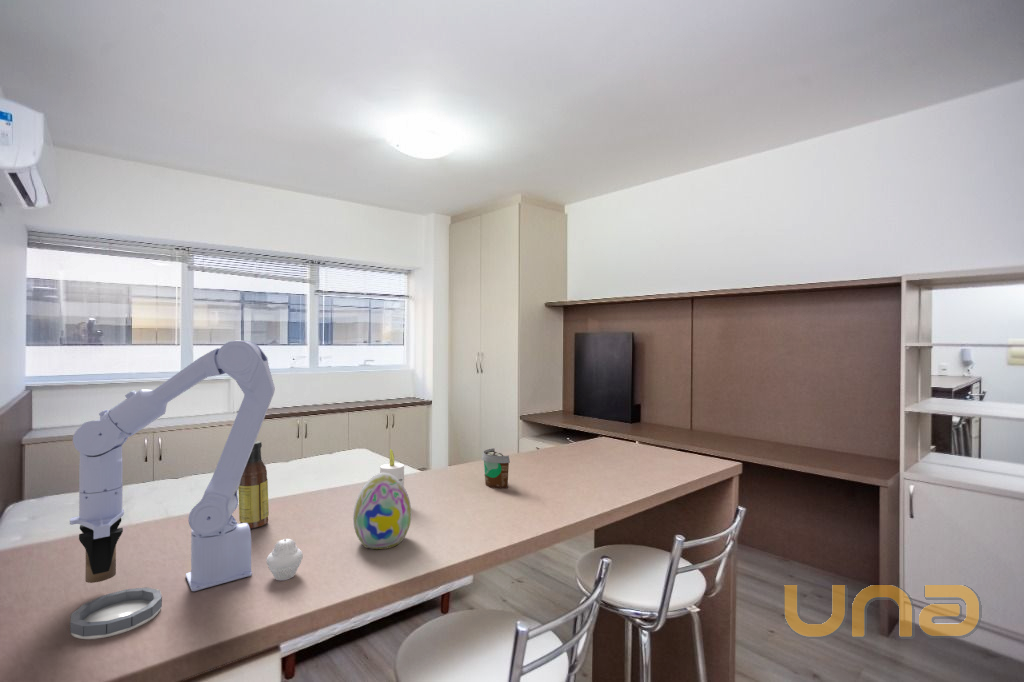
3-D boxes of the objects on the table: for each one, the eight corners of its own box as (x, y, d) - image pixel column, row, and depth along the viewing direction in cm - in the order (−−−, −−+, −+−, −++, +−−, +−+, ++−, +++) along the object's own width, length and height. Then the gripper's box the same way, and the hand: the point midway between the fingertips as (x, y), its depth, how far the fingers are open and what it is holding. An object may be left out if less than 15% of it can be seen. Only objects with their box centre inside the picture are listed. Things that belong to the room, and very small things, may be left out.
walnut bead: (115, 569, 86) (115, 535, 86) (116, 577, 83) (116, 542, 83) (85, 576, 84) (85, 541, 84) (85, 585, 81) (85, 548, 81)
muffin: (308, 568, 93) (308, 532, 93) (294, 584, 87) (295, 545, 87) (275, 569, 93) (275, 532, 93) (259, 585, 87) (260, 545, 87)
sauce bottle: (261, 518, 120) (262, 438, 120) (273, 524, 116) (273, 441, 116) (233, 526, 115) (233, 442, 115) (244, 532, 111) (245, 445, 111)
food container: (475, 481, 153) (475, 449, 153) (493, 479, 156) (493, 447, 156) (490, 492, 142) (490, 457, 142) (509, 489, 145) (509, 455, 145)
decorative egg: (351, 556, 99) (352, 483, 99) (354, 534, 110) (354, 468, 110) (413, 550, 102) (413, 478, 102) (409, 528, 114) (409, 464, 114)
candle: (390, 510, 126) (390, 452, 126) (374, 505, 130) (375, 449, 130) (409, 504, 131) (409, 448, 131) (393, 499, 135) (394, 445, 135)
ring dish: (157, 592, 84) (157, 581, 84) (164, 620, 76) (164, 607, 76) (71, 616, 77) (71, 603, 77) (69, 649, 68) (69, 634, 68)
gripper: (71, 483, 87) (71, 560, 87) (68, 504, 76) (67, 591, 76) (122, 476, 91) (121, 549, 91) (126, 494, 80) (125, 577, 80)
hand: (100, 567), depth 84 cm, fingers closed on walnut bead, 4 cm apart
